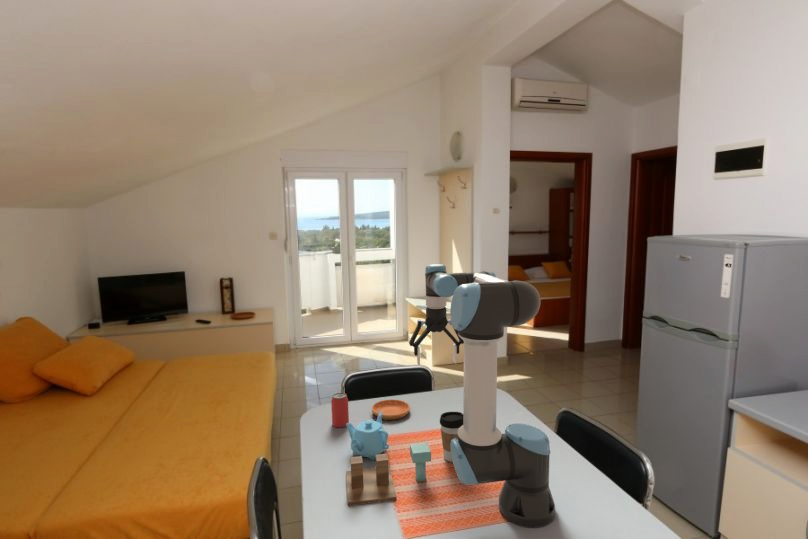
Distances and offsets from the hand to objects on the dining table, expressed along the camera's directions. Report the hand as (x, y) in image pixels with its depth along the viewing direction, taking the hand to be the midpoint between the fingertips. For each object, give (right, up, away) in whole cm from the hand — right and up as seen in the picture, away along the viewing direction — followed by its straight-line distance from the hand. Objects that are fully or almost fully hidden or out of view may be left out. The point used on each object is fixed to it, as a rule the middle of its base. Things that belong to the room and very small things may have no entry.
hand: (436, 363), depth 166 cm
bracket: (-23, -32, -29) cm, 48 cm away
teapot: (-25, -29, -9) cm, 40 cm away
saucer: (-18, -26, +21) cm, 38 cm away
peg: (-7, -31, -26) cm, 41 cm away
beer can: (-37, -27, +12) cm, 48 cm away
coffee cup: (+4, -29, -14) cm, 33 cm away
